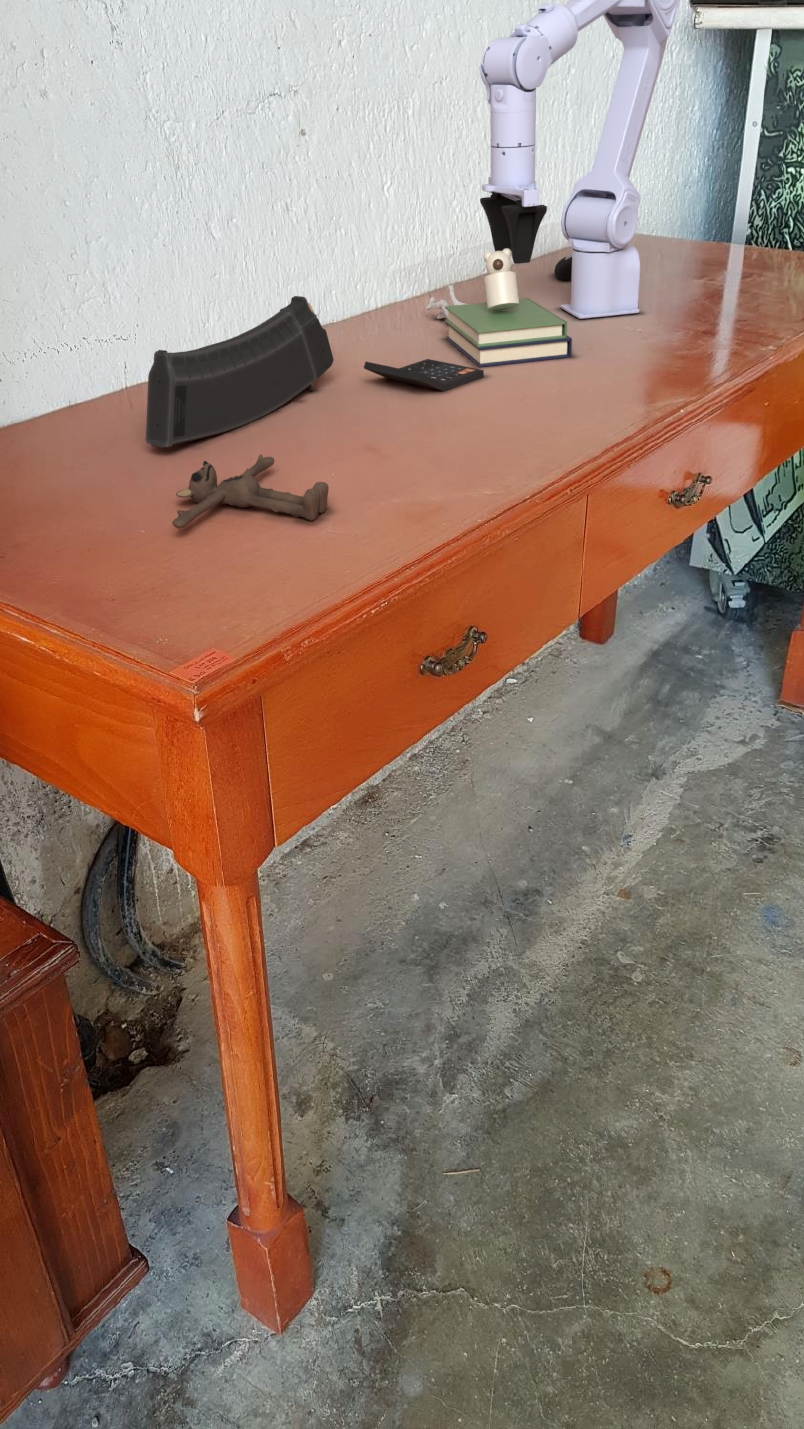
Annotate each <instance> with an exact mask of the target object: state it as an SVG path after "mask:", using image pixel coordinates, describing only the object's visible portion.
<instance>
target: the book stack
mask: <svg viewBox="0 0 804 1429" xmlns="http://www.w3.org/2000/svg"><path fill="white" fill-rule="evenodd" d="M445 309H447V310H448V319H447V318H444V319H445V320H444V321H445V324H446V325H447V326H448V336H446V341H448V342H449V343H450V344H451V345H453V347H455V348H456V349H457V350H458V351H460V352H461V353H462V354H463V355H464V356H465V357H467V358H468V360H470V361H471V362H473V363H474V364H475V365H476V366H477V367H478V368H484V367H494V366H495V367H496V366H502V365H511V364H522V363H531V362H539V361H540V362H541V361H550V360H558V359H566V358H567V359H568V358H572V346H573V338H572V337H571V336H569V335H568V321H567V320H565V319H563V318H561V317H560V316H558V315H556V314H555V313H553V312H551V311H550V310H549V309H547V308H545V307H544V306H541V305H540V304H538V303H537V302H535V301H534V300H532V299H530V298H528V297H527V298H519V305H518V306H517V307H514V308H511V309H506V310H499V311H490V310H488V307H487V301H486V302H485V301H484V302H475V303H466V304H464V305H454V306H453V305H450V306H445Z"/></svg>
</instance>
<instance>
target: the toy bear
mask: <svg viewBox="0 0 804 1429" xmlns="http://www.w3.org/2000/svg"><path fill="white" fill-rule="evenodd" d="M511 258H512V252H511V250H510V249H508V248H505V249H504V250H503V251H495V250H494V251H493V252H491V251H486V252H484V254H483V260H484V261H485V270H486V272H487V274H488V275H486V276H485V277H484V278H483V281H484V282H483V283H484V289H485V299H486V302H487V307H488V310H490V311H499V310H506V309H511V308H514V307H517V306H518V305H519V299H520V297H519V291H518V290H519V289H518V282H517V280H518V279H517V273H516V272H515V271H511V269H512V264H513V263H512V259H511Z"/></svg>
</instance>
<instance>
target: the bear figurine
mask: <svg viewBox="0 0 804 1429" xmlns="http://www.w3.org/2000/svg"><path fill="white" fill-rule="evenodd" d="M274 464H275V458H274V456H273V457H272V456H265V457H264V456H263V454H259V455H258V457H257V460H256V462H255V463H254V464H253V465H252V466H251V467H250V468H247V469H246V470H245V471H244V472H243V473H241V474H240V475H234V476H230V477H228V478H226V479H223V480H222V481H221V482H220V483H219V484H218V475H217V471H216V468H215V466H213V464H211V463H210V462H208V461H207V460H203V464H202V466H203V467H200V469H199V470H196V471H195V472H193V473H192V474H191V476H190V479H189V482H188V487H186V488H183V489H180V490H178V491H177V492H176V493H175V496H176V497H177V498H190V499H191V500H192V501H193V502H194V503H196V505H194V506H192V507H191V508H189V509H188V510H180V509H178V510H176V513H177V515H178V516H177V517H175V518H174V519H173V520H172V522H171V524H172V526H173V527H174V528H176V529H183V528H186V527H187V526H188V525H189V524H191V522H193V521H194V520H195V519H196V518H198V517H199V516H201V515H202V514H204V513H205V512H207V511H209V510H210V509H212V508H214V507H215V506H216V505H217V506H218V504H220V505H230V506H235V507H239V508H241V509H242V508H243V509H246V508H251V507H252V506H253V507H257V508H262V509H266V510H270V511H273V512H275V513H278V512H279V513H284V514H288V515H291V516H292V517H295V518H299V517H302V518H304V519H306V520H307V521H311V522H313V521H315V520H316V519H317V518H318V514H324V512H325V511H326V510H327V506H328V497H329V484H328V483H327V482H325V481H317V482H315V483H314V485H313V486H312V487H311V488H308V489H307V490H305V492H304V494H303V495H299V494H293V493H291V492H289V491H287V492H284V491H279V490H274V489H273V488H265V487H263V486H260V484H259V482H258V481H257V480H256V478H255V477H256V476H258V475H259V474H261V473H263V472H264V471H266V470H268V469H269V468H270V467H272V466H273V465H274Z"/></svg>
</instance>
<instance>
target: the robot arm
mask: <svg viewBox="0 0 804 1429" xmlns="http://www.w3.org/2000/svg"><path fill="white" fill-rule="evenodd" d="M679 3H680V0H568V1H567V2H566V3H565V4H564V5H563V4H560V3H552V2H546V3H542V4H541V5H539V6H538V7H537V10H538V13H537V14H535V15H534V16H533V17H531V18H530V19H529V20H528V21H527V22H525V23H519V24H518V25H516V26H515V27H514V32H512V33H511V34H510V35H509V36H506V37H505V36H503V37H496V38H494V39H493V40H492V41H491V42H490V44H488V46H487V47H486V48H485V50H484V52H483V55H482V61H481V63H480V64H479V73H480V78H481V80H482V83H483V85H484V86H485V90H486V101H487V103H488V105H489V106H490V107H489V110H490V176H488V178H487V179H488V181H487V182H488V183H486V184H485V183H483V184H482V185H481V190H482V191H483V192H485V193H489V194H490V196H486V197H485V196H484V197H481V198H479V202H480V205H481V206H482V208H483V211H484V214H485V216H486V219H487V222H488V226H489V229H490V234H491V240H492V245H493V249H494V252H495V251H503V250H504V249H505V248H508V249H510V250H511V258H512V261H513V262H512V263H513V264H515V265H518V264H530V262H531V259H532V256H533V251H534V248H535V242H536V239H537V235H538V231H539V229H540V226H541V223H542V222H543V219H544V218H545V215H546V214H547V211H548V206H547V205H545V204H540V188H537V181H536V179H535V178H536V127H537V126H536V125H537V124H536V123H537V122H536V121H537V120H536V118H537V117H536V116H537V88H540V87H541V86H542V84H543V82H544V80H545V78H546V75H547V72H548V69H549V68H550V67H552V65H553V64H555V63H556V62H557V61H558V60H560V59H561V58H562V57H564V56H565V55H567V53H569V52H570V51H571V50H572V49H573V48H574V47H575V46H576V44H577V41H578V36H579V32H580V31H582V30H583V29H585V28H586V27H587V26H589V25H591V24H592V23H594V22H595V21H596V20H598V19H600V18H601V17H603V18H604V20H605V22H606V23H607V25H608V27H609V28H610V31H611V32H612V34H613V36H614V38H616V39H617V40H618V41H620V42H621V43H622V46H623V53H622V57H621V60H620V65H619V68H618V71H617V75H616V80H615V82H614V87H613V91H612V94H611V97H610V101H609V105H608V109H607V112H606V115H605V118H604V123H603V127H602V131H601V134H600V138H599V141H598V145H597V149H596V154H595V155H594V156H595V157H594V161H593V164H592V167H591V169H590V171H589V172H587V173H586V174H585V175H584V176H582V177H581V178H579V179H578V180H577V181H576V182H574V184H573V188H572V192H571V194H570V196H569V198H568V199H567V201H566V203H565V205H564V207H563V209H562V212H561V216H560V217H561V218H560V227H561V232H562V235H563V237H564V238H565V239H566V240H567V241H568V245H567V246H568V248H571V249H572V252H571V254H572V277H571V280H570V284H571V285H570V303H565V304H561V305H560V308H561V309H562V310H564V311H565V312H567V313H568V314H570V315H572V316H573V317H575V318H577V319H580V320H583V319H592V318H601V317H603V318H604V317H612V316H613V317H614V316H621V315H631V314H639V313H640V311H641V310H640V308H639V296H640V282H641V281H640V278H641V260H640V254H639V252H638V249H637V247H635V246H634V245H629V244H630V242H631V241H632V240H633V238H634V236H635V234H636V231H637V228H638V222H639V219H638V218H639V217H638V216H639V215H638V212H639V206H640V202H641V195H640V193H639V191H638V190H637V188H636V187H635V185H634V184H633V182H632V181H631V180H630V177H631V173H632V170H633V167H634V166H633V165H634V163H635V159H636V155H637V152H638V148H639V144H640V141H641V136H642V133H643V130H644V126H645V123H646V119H647V116H648V112H649V109H650V104H651V101H652V98H653V94H654V90H655V88H656V84H657V80H658V76H659V72H660V69H661V66H662V62H663V59H664V55H665V51H666V47H667V43H668V38H669V37H670V36H671V32H672V29H673V25H674V22H675V18H676V15H677V11H678V7H679Z"/></svg>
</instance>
